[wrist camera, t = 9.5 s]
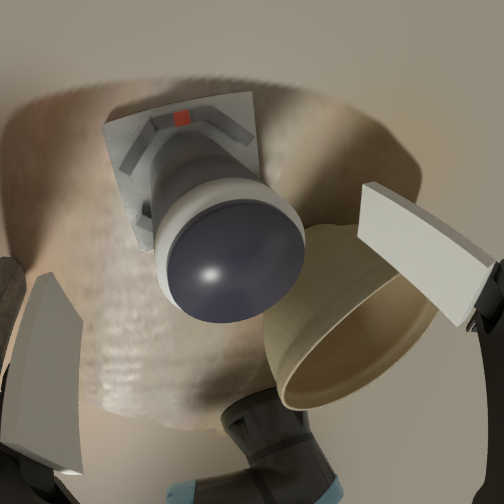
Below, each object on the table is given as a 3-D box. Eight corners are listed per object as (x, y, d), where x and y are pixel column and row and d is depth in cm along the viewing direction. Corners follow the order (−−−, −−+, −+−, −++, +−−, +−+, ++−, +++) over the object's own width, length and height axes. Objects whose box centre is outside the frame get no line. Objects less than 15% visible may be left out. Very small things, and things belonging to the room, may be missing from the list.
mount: (258, 211, 20) (272, 227, 19) (141, 244, 18) (141, 265, 17) (246, 90, 15) (261, 91, 13) (104, 122, 13) (96, 128, 11)
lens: (224, 127, 15) (315, 180, 7) (233, 200, 18) (308, 302, 10) (141, 145, 14) (133, 223, 6) (160, 219, 17) (182, 343, 9)
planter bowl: (339, 315, 33) (388, 379, 25) (217, 331, 26) (255, 428, 18) (395, 199, 25) (475, 257, 17) (255, 172, 19) (353, 261, 10)
